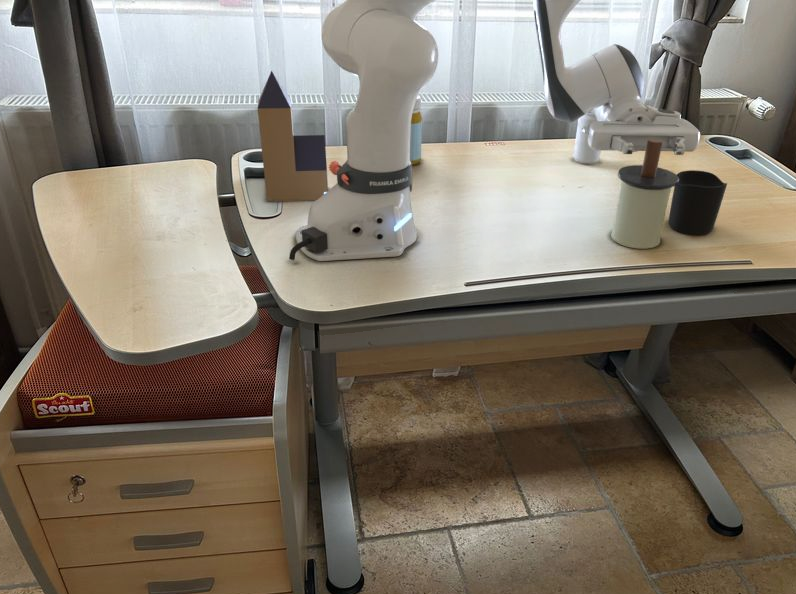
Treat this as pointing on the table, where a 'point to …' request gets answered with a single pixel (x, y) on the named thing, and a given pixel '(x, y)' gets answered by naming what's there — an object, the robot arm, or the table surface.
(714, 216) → the pen holder
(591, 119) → the beverage can
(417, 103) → the bottle
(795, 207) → the table surface
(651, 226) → the can
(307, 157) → the toy building blocks
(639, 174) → the lid
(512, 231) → the table surface
